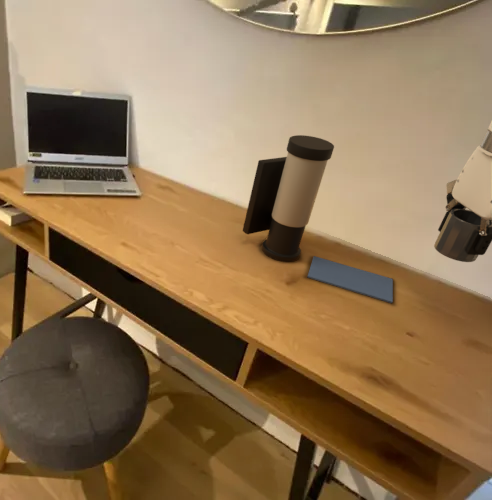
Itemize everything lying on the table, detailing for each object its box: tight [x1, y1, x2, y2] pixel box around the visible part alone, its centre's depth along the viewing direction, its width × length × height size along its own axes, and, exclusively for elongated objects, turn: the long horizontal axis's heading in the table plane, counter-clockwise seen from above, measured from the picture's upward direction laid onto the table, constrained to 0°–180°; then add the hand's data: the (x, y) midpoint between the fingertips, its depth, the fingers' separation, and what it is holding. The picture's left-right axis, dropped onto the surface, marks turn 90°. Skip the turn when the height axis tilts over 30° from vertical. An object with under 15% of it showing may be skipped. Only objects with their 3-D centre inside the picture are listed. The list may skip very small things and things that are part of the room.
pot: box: [433, 208, 492, 263], centre depth 83 cm, size 7×7×7 cm
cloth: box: [307, 255, 394, 304], centre depth 96 cm, size 16×9×1 cm, turn 65°
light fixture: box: [242, 134, 335, 263], centre depth 98 cm, size 12×11×25 cm
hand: (460, 241), depth 84 cm, fingers closed on pot, 6 cm apart
